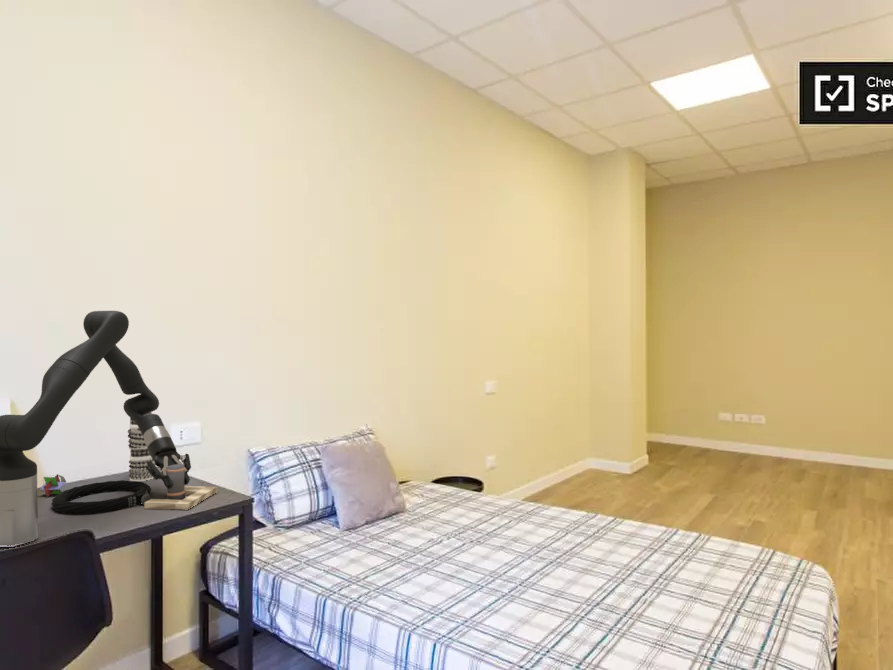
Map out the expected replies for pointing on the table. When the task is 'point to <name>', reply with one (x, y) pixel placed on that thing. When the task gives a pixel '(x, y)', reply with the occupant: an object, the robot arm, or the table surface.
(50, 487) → the geometric puzzle
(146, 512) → the table surface
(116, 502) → the cable lock
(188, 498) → the wooden u-shaped frame
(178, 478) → the grey banded cylinder
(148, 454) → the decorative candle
